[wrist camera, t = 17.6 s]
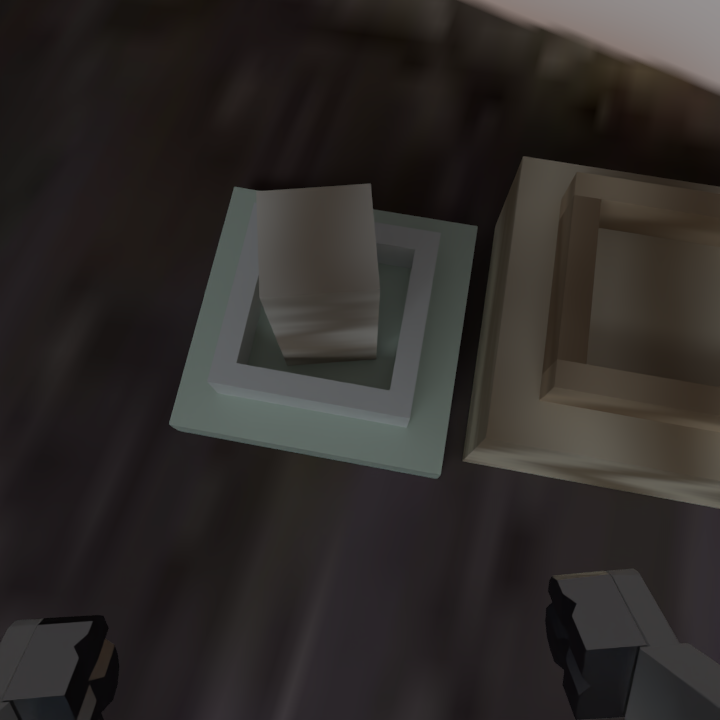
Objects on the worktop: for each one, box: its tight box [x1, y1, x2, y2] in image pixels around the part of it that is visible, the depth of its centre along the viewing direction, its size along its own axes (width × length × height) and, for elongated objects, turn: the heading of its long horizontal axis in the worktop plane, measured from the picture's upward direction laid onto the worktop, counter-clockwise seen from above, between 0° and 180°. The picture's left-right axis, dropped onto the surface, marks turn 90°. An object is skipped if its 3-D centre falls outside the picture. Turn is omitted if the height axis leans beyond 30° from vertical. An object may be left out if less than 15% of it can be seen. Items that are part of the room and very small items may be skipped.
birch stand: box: [462, 156, 720, 508], centre depth 27 cm, size 12×12×8 cm
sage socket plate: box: [169, 187, 478, 479], centre depth 29 cm, size 12×12×4 cm
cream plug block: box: [256, 184, 380, 366], centre depth 26 cm, size 4×4×8 cm
